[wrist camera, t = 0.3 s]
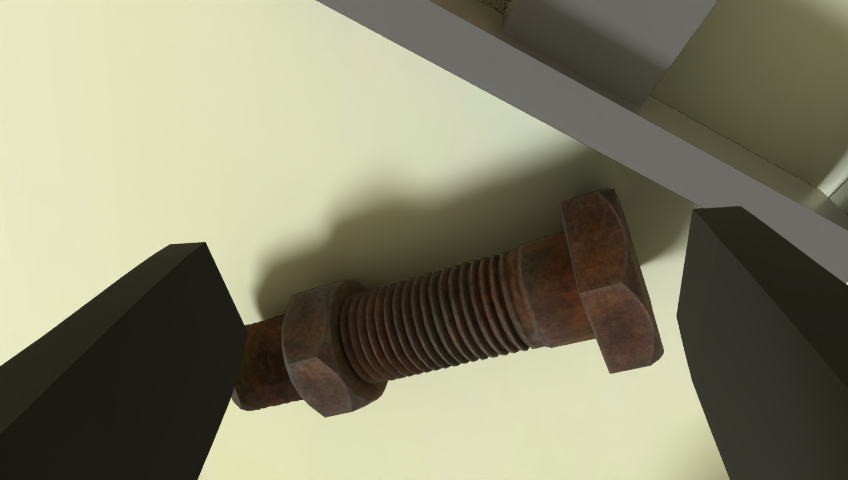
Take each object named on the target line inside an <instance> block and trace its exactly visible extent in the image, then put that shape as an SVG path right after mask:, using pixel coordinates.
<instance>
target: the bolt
mask: <svg viewBox="0 0 848 480" xmlns="http://www.w3.org/2000/svg"><path fill="white" fill-rule="evenodd" d="M559 206H560V211H561V215H562V220H563V224H564V229H565V232H561V233H558V234H554V235H551V236H547V237H544V238H541V239H537V240H534V241H530V242H527V243H523V244H522V245H521V246H519V247H518V248H516V249H512V250H511V251H510V253H508V252H507V251H506V252H503V253H502V254H501V256H499V255H493V256H491V259H489V258H488V257H485V258H483V259H482V260H481V261H479V260H474V261H473V262H472V264H470V263H469V262H467V263H464V264H463V265H462V266H460V265H456V266H454V267H453V269H452V268H445V269H444V270H443V271H441V270H438V271H436V272H435V273H434V274H433V273H428V274H426V275H425V276H422V275H421V276H419V277H417V278H416V279H414V278H410V279H408V281H400V282H399V283H394V284H392V285H390V286H386V285H385V286H383V287H382V288H375V289H374V290H368V291H366V290H365V289H364V288H363V287H362V286H361V285H359V284H358V283H356V282H355V281H353V280H347V281H342V282H337V283H333V284H329V285H325V286H321V287H317V288H314V289H311V290H307V291H304V292H301V293H297V294H294V295H292V298H291V300H290V302H289V305H288V307H287V310H286V313H285V315H281V316H279V317H278V316H277V317H274V318H272V319H267V320H265V321H260V322H258V323H253V324H250V325H245V328H246V330H247V332H248V336H247V341H246V345H245V349H244V353H243V358H242V362H241V366H240V370H239V373H238V377H237V380H236V384H235V388H234V391H233V394H232V396H231V397H232V400H233V402H234V403H235V404H236V405H237V406H238V407H239V408H240V409H243V410H246V411H254V410H260V409H261V408H262V409H263V408H266V407H269V406H276V405H280V404H283V403H289V402H292V401H299V400H304V401H306V402H307V403H308V404H309V405H310V406H311V407H312V408H313V409H315V410H316V411H317V412H319V413H320V414H321V415H322V416H324V417H330V416H334V415H339V414H344V413H349V412H353V411H355V410H357V409H360V408H362V407H364V406H366V405H368V404H370V403H371V402H373V401H375V400H377V399H378V398H379V397H380V396H381V395H382V394H383V392H384V390H385V388H386V385H387V382H388V380H395V379H397V378H403V377H406V376H412V375H415V374H417V375H418V374H421V373H423V372H426V373H427V372H430V371H432V370H435V371H436V370H439V369H441V368H444V369H445V368H448V367H450V366H458V365H459V364H460V363H468V362H469V361H471V362H474V361H477V360H478V359H479V358H480V359H481V360H484V359H487V358H488V357H497V356H498V355H508V353H509V352H510V353H516V352H518V351H519V350H522V351H527V350H528V349H529V347H531V348H532V349H535V348H540V347H544V346H546V347H549V348H553V347H558V346H563V345H567V344H572V343H577V342H581V341H586V340H591V339H596V340H597V342H598V345H599V347H600V350H601V353H602V355H603V358H604V360H605V363H606V365H607V368H608V370H609V373H611V374H612V373H617V372H622V371H627V370H631V369H636V368H641V367H646V366H651V365H652V364H653V363H655V362H656V361H657V360H659V359H660V358H661V356H662V355H663V353H664V349H663V346H662V342H661V338H660V335H659V331H658V328H657V324H656V321H655V317H654V314H653V310H652V305H651V301H650V298H649V294H648V291H647V288H646V285H645V281H644V278H643V275H642V272H641V268H640V265H639V262H638V259H637V256H636V253H635V250H634V246H633V243H632V240H631V237H630V234H629V230H628V226H627V223H626V220H625V217H624V214H623V211H622V209H621V206H620V203H619V200H618V198H617V195H616V193H615V189H604V190H599V191H595V192H592V193H589V194H585V195H582V196H579V197H575V198H572V199H568V200H565V201H562V202H560V203H559Z"/></svg>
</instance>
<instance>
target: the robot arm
mask: <svg viewBox="0 0 848 480" xmlns="http://www.w3.org/2000/svg"><path fill="white" fill-rule="evenodd" d="M677 320H678V325H679V329H680V333H681V338H682V342H683V346H684V351H685V355H686V359H687V363H688V367H689V370H690V374H691V378H692V381H693V384H694V387H695V390H696V392H697V395H698V398H699V400H700V403H701V406H702V408H703V411H704V413H705V416H706V419H707V421H708V424H709V427H710V429H711V432H712V434H713V437H714V440H715V442H716V445H717V447H718V450H719V452H720V455H721V458H722V460H723V463H724V465H725V468H726V471H727V473H728V476H729V478H730V480H848V285H847V284H845V283H844V282H843V281H841V280H840V279H838V278H837V277H836V276H834V275H833V274H832V273H830V272H829V271H828V270H826V269H825V268H823V267H822V266H821V265H819V264H818V263H817V262H815V261H814V260H813V259H811V258H810V257H809V256H807V255H806V254H805V253H803V252H802V251H801V250H799V249H798V248H797V247H795V246H794V245H793V244H791V243H790V242H789V241H788V240H786V239H785V238H784V237H782V236H781V235H780V234H778V233H777V232H776V231H774V230H773V229H772V228H770V227H769V226H768V225H766V224H765V223H764V222H762V221H761V220H760V219H758V218H757V217H756V216H754V215H753V214H751V213H750V212H749V211H747V210H746V209H744V208H743V207H741V206H731V207H716V208H701V209H693V210H692V217H691V223H690V230H689V237H688V243H687V250H686V256H685V263H684V270H683V276H682V283H681V290H680V296H679V303H678V310H677ZM247 336H248V332H247V330H246V328H245V326H244V324H243V321H242V319H241V317H240V315H239V313H238V311H237V309H236V306H235V304H234V302H233V300H232V298H231V296H230V294H229V291H228V289H227V287H226V285H225V283H224V281H223V279H222V276H221V274H220V272H219V270H218V268H217V266H216V264H215V261H214V259H213V257H212V255H211V253H210V251H209V249H208V246H207V244H206V242H199V243H184V244H170V245H168V246H167V247H165V248H163V249H162V250H160V251H159V252H157V253H155V254H154V255H152V256H151V257H149V258H148V259H147V260H145V261H144V262H142V263H141V264H139V265H138V266H137V267H135V268H134V269H132V270H131V271H130V272H128V273H127V274H126V275H124V276H123V277H121V278H120V279H119V280H117V281H116V282H115V283H113V284H112V285H111V286H109V287H108V288H107V289H105V290H104V291H103V292H101V293H100V294H99V295H97V296H96V297H95V298H93V299H92V300H91V301H89V302H88V303H87V304H85V305H84V306H83V307H81V308H80V309H79V310H77V311H76V312H75V313H73V314H72V315H71V316H69V317H68V318H67V319H65V320H64V321H63V322H61V323H60V324H59V325H57V326H56V327H55V328H53V329H52V330H51V331H49V332H48V333H47V334H45V335H44V336H42V337H41V338H40V339H38V340H37V341H35V342H34V343H33V344H31V345H30V346H28V347H27V348H25V349H24V350H23V351H21V352H20V353H18V354H17V355H16V356H14V357H13V358H11V359H10V360H8V361H7V362H6V363H4V364H3V365H1V366H0V480H198V477H199V475H200V472H201V470H202V468H203V465H204V463H205V460H206V458H207V456H208V453H209V451H210V448H211V446H212V444H213V441H214V439H215V436H216V434H217V431H218V429H219V426H220V424H221V421H222V419H223V416H224V414H225V412H226V409H227V407H228V404H229V401H230V399H231V396H232V394H233V391H234V388H235V384H236V380H237V377H238V373H239V370H240V366H241V362H242V358H243V353H244V349H245V345H246V341H247Z"/></svg>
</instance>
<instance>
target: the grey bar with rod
mask: <svg viewBox="0 0 848 480" xmlns="http://www.w3.org/2000/svg"><path fill="white" fill-rule="evenodd" d="M316 1H318V2H320V3H322V4H324V5H326V6H328V7H329V8H331V9H333V10H335V11H337V12H339V13H341V14H342V15H344V16H346V17H348V18H350V19H352V20H354V21H356V22H357V23H359V24H361V25H363V26H365V27H367V28H369V29H370V30H372V31H374V32H376V33H378V34H380V35H382V36H383V37H385V38H387V39H389V40H391V41H393V42H395V43H397V44H398V45H400V46H402V47H404V48H406V49H408V50H410V51H411V52H413V53H415V54H417V55H419V56H421V57H423V58H425V59H426V60H428V61H430V62H432V63H434V64H436V65H438V66H439V67H441V68H443V69H445V70H447V71H449V72H451V73H453V74H454V75H456V76H458V77H460V78H462V79H464V80H466V81H467V82H469V83H471V84H473V85H475V86H477V87H479V88H481V89H482V90H484V91H486V92H488V93H490V94H492V95H494V96H495V97H497V98H499V99H501V100H503V101H505V102H507V103H508V104H510V105H512V106H514V107H516V108H518V109H520V110H522V111H523V112H525V113H527V114H529V115H531V116H533V117H535V118H536V119H538V120H540V121H542V122H544V123H546V124H548V125H550V126H551V127H553V128H555V129H557V130H559V131H561V132H563V133H564V134H566V135H568V136H570V137H572V138H574V139H576V140H578V141H579V142H581V143H583V144H585V145H587V146H589V147H591V148H592V149H594V150H596V151H598V152H600V153H602V154H604V155H606V156H607V157H609V158H611V159H613V160H615V161H617V162H619V163H620V164H622V165H624V166H626V167H628V168H630V169H632V170H633V171H635V172H637V173H639V174H641V175H643V176H645V177H647V178H648V179H650V180H652V181H654V182H656V183H658V184H660V185H661V186H663V187H665V188H667V189H669V190H671V191H673V192H675V193H676V194H678V195H680V196H682V197H684V198H686V199H688V200H689V201H691V202H693V203H695V204H697V205H699V206H701V207H703V208H716V207H731V206H741V207H743V208H744V209H746V210H747V211H749V212H750V213H751V214H753V215H754V216H756V217H757V218H758V219H760V220H761V221H762V222H764V223H765V224H766V225H768V226H769V227H770V228H772V229H773V230H774V231H776V232H777V233H778V234H780V235H781V236H782V237H784V238H785V239H786V240H788V241H789V242H790V243H791V244H793V245H794V246H795V247H797V248H798V249H799V250H801V251H802V252H803V253H805V254H806V255H807V256H809V257H810V258H811V259H813V260H814V261H815V262H817V263H818V264H819V265H821V266H822V267H823V268H825V269H826V270H828V271H829V272H830V273H832V274H833V275H834V276H836V277H837V278H838V279H840V280H841V281H843V282H844V283H845V284H846V283H847V282H848V216H847V215H846V214H845V213H844V212H843V211H842V210H841V209H840V208H839V207H838V206H837V205H836V204H835V203H834V202H833V201H831V200H830V199H829V198H828V197H827V196H826V195H825V194H824V193H823V192H822V191H821V190H819V189H817V188H815V187H814V186H812V185H810V184H808V183H806V182H805V181H803V180H801V179H799V178H797V177H796V176H794V175H792V174H790V173H788V172H787V171H785V170H783V169H781V168H779V167H778V166H776V165H774V164H772V163H770V162H769V161H767V160H765V159H763V158H761V157H760V156H758V155H756V154H754V153H752V152H751V151H749V150H747V149H745V148H743V147H742V146H740V145H738V144H736V143H734V142H733V141H731V140H729V139H727V138H725V137H724V136H722V135H720V134H718V133H716V132H715V131H713V130H711V129H709V128H707V127H706V126H704V125H702V124H700V123H698V122H697V121H695V120H693V119H691V118H689V117H688V116H686V115H684V114H682V113H680V112H679V111H677V110H675V109H673V108H671V107H670V106H668V105H666V104H664V103H662V102H661V101H659V100H657V99H655V98H653V97H652V96H650V94H651V92H652V91H653V89H654V88H655V87H656V85H657V84H658V82H659V81H660V80H661V78H662V77H663V76H664V74H665V73H666V71H667V70H668V69H669V67H670V66H671V64H672V63H673V62H674V60H675V59H676V58H677V56H678V55H679V53H680V52H681V51H682V49H683V48H684V46H685V45H686V44H687V42H688V41H689V39H690V38H691V37H692V35H693V34H694V33H695V31H696V30H697V28H698V27H699V26H700V24H701V23H702V21H703V20H704V19H705V17H706V16H707V15H708V13H709V12H710V10H711V9H712V8H713V6H714V5H715V3H716V2H717V1H718V0H511V1H510V3H509V5H508V7H507V9H506V11H505V12H504V14H502V13H500V12H499V11H497V10H495V9H493V8H491V7H490V6H488V5H486V4H484V3H482V2H481V1H479V0H316Z"/></svg>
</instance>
